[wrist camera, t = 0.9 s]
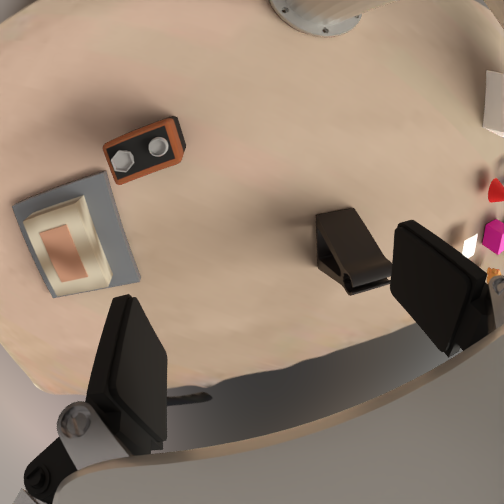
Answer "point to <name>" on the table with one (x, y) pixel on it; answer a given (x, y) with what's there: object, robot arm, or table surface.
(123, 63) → the table surface
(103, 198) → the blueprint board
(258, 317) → the table surface
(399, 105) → the table surface
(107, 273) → the plinth
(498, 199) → the shape set
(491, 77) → the milk
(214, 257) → the table surface
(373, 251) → the phone stand
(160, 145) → the battery
